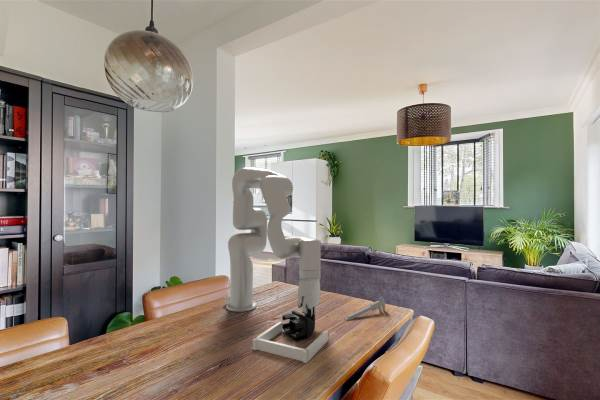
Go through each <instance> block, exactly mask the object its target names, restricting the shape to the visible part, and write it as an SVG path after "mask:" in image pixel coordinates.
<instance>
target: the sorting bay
mask: <svg viewBox="0 0 600 400" xmlns="http://www.w3.org/2000/svg"><path fill="white" fill-rule="evenodd" d="M282 324H283V322H282V321H279V322H277V323H275V324H274V325H271V327H269V328H268V329H266V330H265V331H263V332H262V333H261V334H259V335H258V336H255V337H254V338H253V339H252V350H254V351H256V350H257V351H262V352H264V353H269V354H274V355H277V356H280V357H285V358H287V359H288V358H289V359H292V360H296V361H300V362H302V363H303V364H304V363H305V364H307V363H308V362H309V361H310V360H311V359H312V358H313V357H314V356H315V355H316V354H317V353H318V352H319V350H320V349H322V347H323V346H325V345H326V343H327V342H328V341H329V331H328V330H324V331H323V332H322V333H321V334H320V335H319V336H318V337H316V339H314V340H313V342H311V343H310V344H309V345H308V346H307V347H306V348H303V347H297V346H293V345H289V344H285V343H280V342H276V341H272V339H274V337H276V336H277V335H279V334H280V333H282V332H283V328H282Z"/></svg>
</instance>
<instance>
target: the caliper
mask: <svg viewBox="0 0 600 400" xmlns="http://www.w3.org/2000/svg"><path fill="white" fill-rule="evenodd" d="M376 310H378V312H379V313H383V312H385V311H386V301H385V299H384V298H383V297H382V296H380V297H378V300H376V301H375V302H372V303H371V304H369V305H368V306H366V307H364V308H361V309H360V310H357V311H355V312H353V313H352V314H349V315H347V317H346V318H345V319H344V320H345V321H350V320H354V319H356V318H358V317H360V316H362V315H364V314H366V313H368V312H371V311H372V312H374V311H376Z"/></svg>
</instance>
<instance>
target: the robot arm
mask: <svg viewBox="0 0 600 400" xmlns="http://www.w3.org/2000/svg"><path fill="white" fill-rule="evenodd" d="M231 186H232V187H231V188H232V195H233V202H232V203H233V204H232V206H233V207H232V225H233V227H234V228H235V229H236V230H239V231H250V232H240V233H239V232H238V233H235V234H233V235H232V236H230V237H229V239H228V241H227V248H228V252H229V261H230V262H229V263H230V277H229V278H230V279H229V280H230V281H229V282H230V283H229V285H230V286H229V287H230V288H229V289H230V290H229V292H230V293H229V294H226V295H224V298H223V301H226V302H227V304H226V309H227V311H230V312H237V313H238V312H239V313H240V312H242V313H243V312H248V311H251V310H255V309H256V307H257V302H256V301H254V295H253V294H254V292H253V291H254V283H253V282H254V280H253V279H254V267H253V266H254V265H253V261H252V260H251V258H250V255H255V254H259V253H262V252H263V251H264V250H265V249H266V247H267V241H268V242H269V245H270V248H271V250H272V252H273V254H274V256H275V257H276V258H278V259H280V260H288V259H292V258H298V257H299V261H298V263H299V264H298V265H299V267H298V268H299V269H298V271H299V272H298V273H299V276H298V277H299V278H298V279H299V282H298V287H297V308H298V309H300V308H301V314H303V315H304V316H306V317H307V318H309V319H311V320H312V321H313V322H314V324H315V325H316V315H315V314H316V311H317V309H316V308H317V307H318V304H319V303H320V302H321V283H320V282H321V277H322V275H321V274H322V273H321V269H322V267H321V262H322V261H321V260H322V258H321V257H322V255H321V253H322V252H321V241H320V240H319V239H318V238H313V237H312V238H311V237H308V238H307V237H304V236H299V235H298V236H288V237H285V233H284V232H283V228H282V221H283V219H284V218H285V217H287V215H289V214H290V213H291V211H292V208H291V205H290V202H289V200H288V197H290V196H291V195H292V193H293V191H294V185H293V182H292V181H291V180H290V179H289V178H288V177H287V176H285V175H282V174H280V173H277V172H275V171H272V170H270V169H265V168H256V167H248V166H247V167H242V168H239V169H237V170H236V171H235V172H234V174H233V176H232V180H231ZM251 189H257V190H258V189H260V191H261V194H262V196H263V200H264V203H265V205H266V207H267V211H268V214H269V220H268V217H267V214H266V212H265V211H264V209H262V208H259V207H254V196H253V193H252V191H251Z"/></svg>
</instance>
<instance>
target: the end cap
mask: <svg viewBox="0 0 600 400" xmlns="http://www.w3.org/2000/svg"><path fill="white" fill-rule="evenodd" d="M281 318H282V319H281V320H282V321H287V320H289V321H288V322H284V323H282V333H283V334H284V335H285V336H286V337H288V338H290V340H292V341H293V342H295V343H299V342H300V343H301V342H303V341H306V340H309V338H310V337H311V336H313V334H314V332H315V331H316V323H315V324H314V322H313V321H312V320H311V319H309V318H307V317H306V316H305V315H304V314H303V313H300V312H298V311H297V310H291V313H289V314H284V315H282V317H281Z"/></svg>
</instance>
